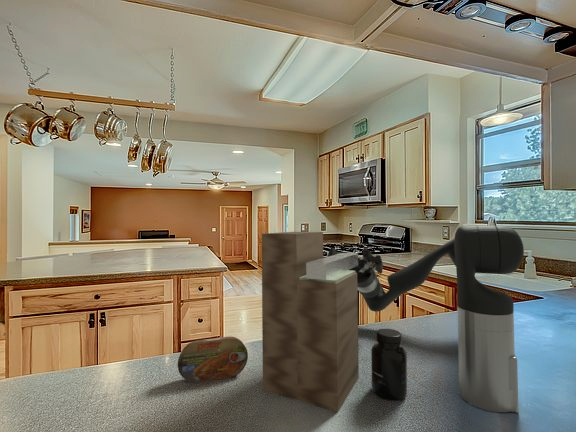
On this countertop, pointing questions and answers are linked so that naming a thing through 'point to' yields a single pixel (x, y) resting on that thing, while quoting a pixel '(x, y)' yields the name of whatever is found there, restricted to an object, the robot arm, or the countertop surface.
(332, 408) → the walnut stand
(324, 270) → the steel bar
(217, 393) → the countertop surface
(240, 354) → the tin
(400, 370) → the supplement bottle
